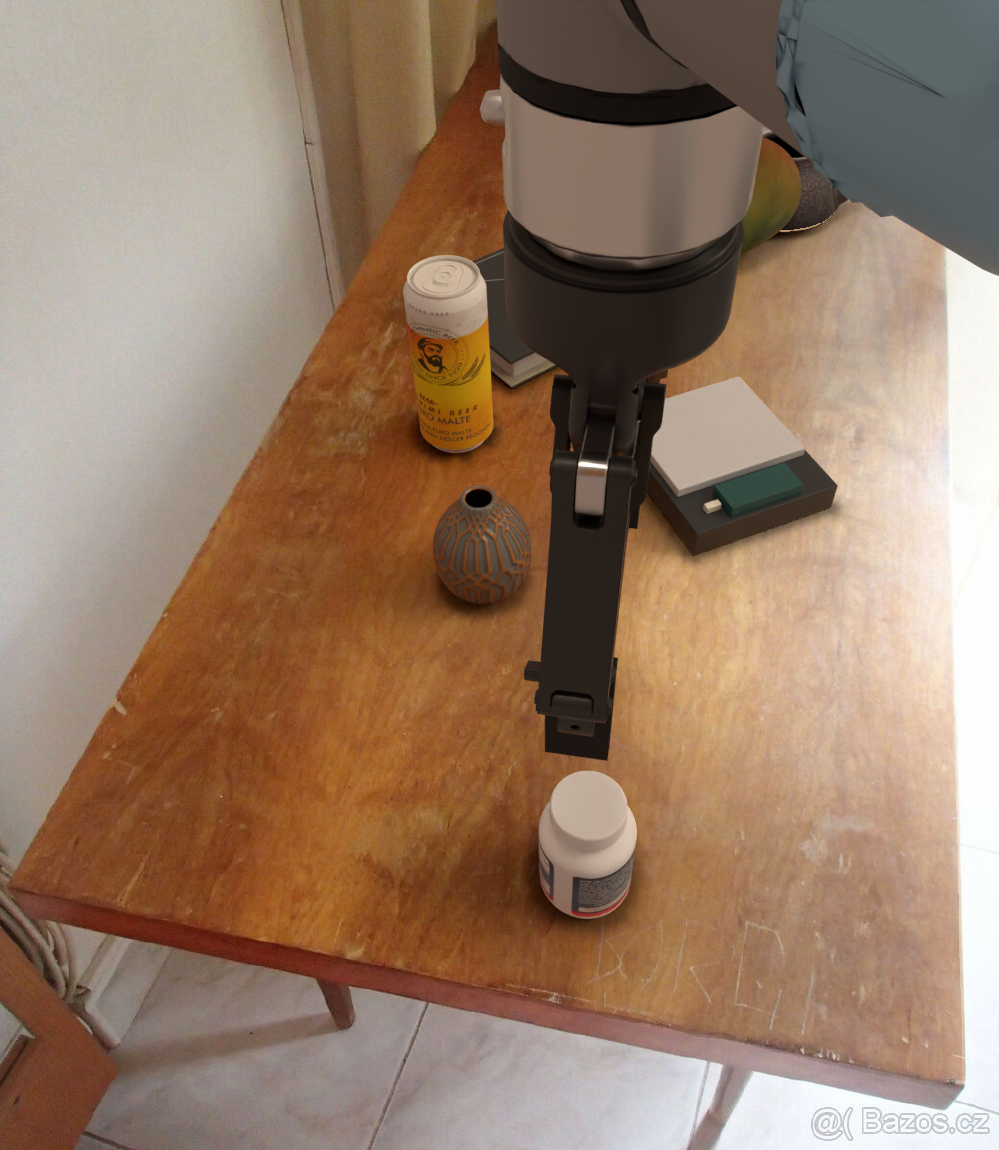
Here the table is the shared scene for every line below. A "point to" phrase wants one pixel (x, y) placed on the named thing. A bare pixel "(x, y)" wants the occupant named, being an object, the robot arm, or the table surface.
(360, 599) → the table surface
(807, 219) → the teapot
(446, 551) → the vase
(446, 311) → the beer can
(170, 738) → the table surface
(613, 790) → the pill bottle
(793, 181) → the fruit
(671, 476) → the scale
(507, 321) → the book
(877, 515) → the table surface
